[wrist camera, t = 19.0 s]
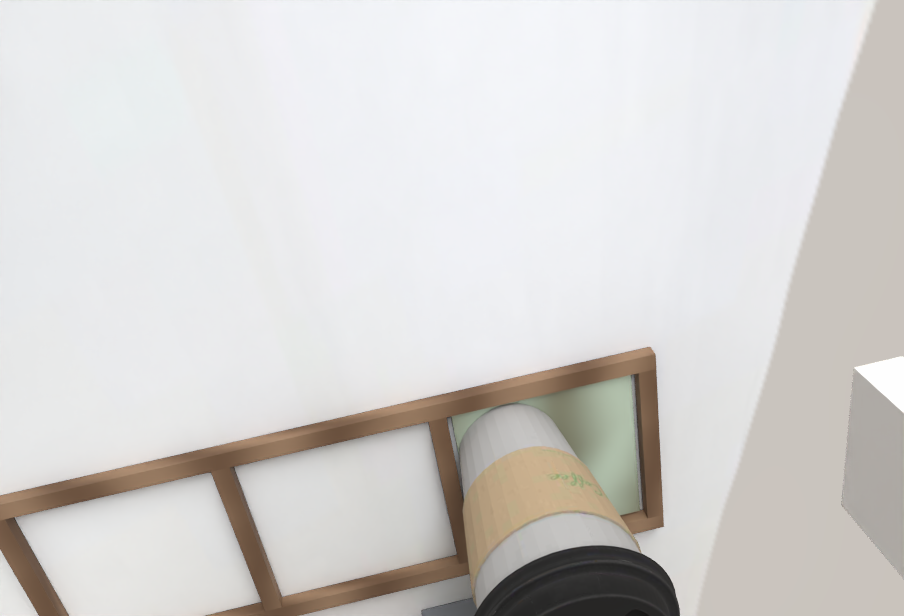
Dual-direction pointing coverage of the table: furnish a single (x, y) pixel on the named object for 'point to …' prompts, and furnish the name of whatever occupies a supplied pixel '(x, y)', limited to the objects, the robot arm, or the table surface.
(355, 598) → the wooden frame
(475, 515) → the coffee cup
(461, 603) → the die
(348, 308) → the table surface
